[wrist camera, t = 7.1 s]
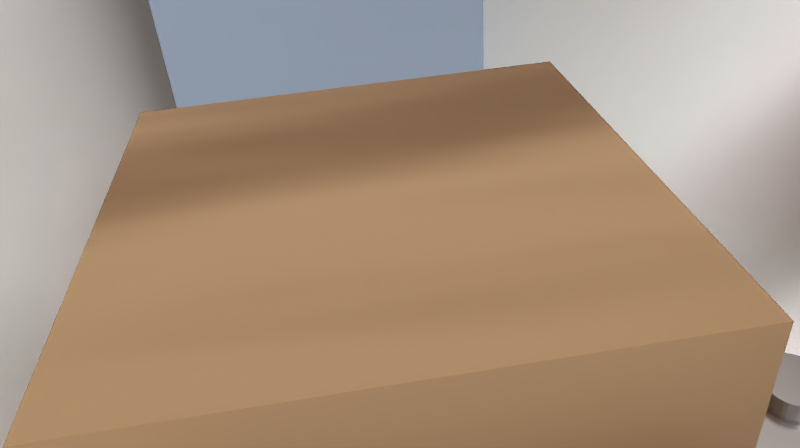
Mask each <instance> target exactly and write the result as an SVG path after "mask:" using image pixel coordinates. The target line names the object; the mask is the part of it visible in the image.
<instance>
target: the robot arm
mask: <svg viewBox="0 0 800 448" xmlns="http://www.w3.org/2000/svg"><path fill="white" fill-rule="evenodd" d="M756 448H800V356H797V355H793V354H788V353H784V355H783V358H782V362H781V365H780V368H779V372H778V375H777V378H776V382H775V385H774V388H773V392H772V395H771V398H770V402H769V405H768V409H767V412H766V415H765V419H764V422H763V425H762V429H761V432H760V435H759V439H758V442H757V445H756Z"/></svg>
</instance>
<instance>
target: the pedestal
mask: <svg viewBox="0 0 800 448" xmlns="http://www.w3.org/2000/svg"><path fill="white" fill-rule="evenodd" d="M148 1H149V5H150V9H151V13H152V16H153V20H154V24H155V28H156V32H157V35H158V39H159V43H160V47H161V50H162V54H163V58H164V62H165V66H166V69H167V73H168V77H169V81H170V84H171V88H172V92H173V96H174V99H175V103H176V107H177V108H180V107H188V106H196V105H204V104H212V103H220V102H229V101H237V100H245V99H253V98H261V97H269V96H277V95H285V94H293V93H301V92H309V91H317V90H325V89H333V88H341V87H349V86H357V85H365V84H373V83H382V82H390V81H398V80H406V79H414V78H422V77H430V76H438V75H446V74H454V73H462V72H470V71H478V70H483V0H148Z"/></svg>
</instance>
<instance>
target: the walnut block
mask: <svg viewBox="0 0 800 448" xmlns="http://www.w3.org/2000/svg"><path fill="white" fill-rule="evenodd" d="M793 322H794V321H793V320H792V319H791V318H790V317H789V316H788V315H787V314H786V313H785V312H784V310H783V309H782V308H781V307H780V306H779V305H778V304H777V303H776V302H775V301H774V300H773V299H772V298H771V297H770V296H769V294H768V293H767V292H766V291H765V290H764V289H763V288H762V287H761V286H760V285H759V284H758V283H757V282H756V281H755V280H754V279H753V277H752V276H751V275H750V274H749V273H748V272H747V271H746V270H745V269H744V268H743V267H742V266H741V265H740V264H739V263H738V261H737V260H736V259H735V258H734V257H733V256H732V255H731V254H730V253H729V252H728V251H727V250H726V249H725V248H724V247H723V246H722V244H721V243H720V242H719V241H718V240H717V239H716V238H715V237H714V236H713V235H712V234H711V233H710V232H709V231H708V230H707V229H706V227H705V226H704V225H703V224H702V223H701V222H700V221H699V220H698V219H697V218H696V217H695V216H694V215H693V214H692V213H691V211H690V210H689V209H688V208H687V207H686V206H685V205H684V204H683V203H682V202H681V201H680V200H679V199H678V198H677V197H676V196H675V194H674V193H673V192H672V191H671V190H670V189H669V188H668V187H667V186H666V185H665V184H664V183H663V182H662V181H661V180H660V178H659V177H658V176H657V175H656V174H655V173H654V172H653V171H652V170H651V169H650V168H649V167H648V166H647V165H646V164H645V163H644V161H643V160H642V159H641V158H640V157H639V156H638V155H637V154H636V153H635V152H634V151H633V150H632V149H631V148H630V147H629V146H628V144H627V143H626V142H625V141H624V140H623V139H622V138H621V137H620V136H619V135H618V134H617V133H616V132H615V131H614V130H613V128H612V127H611V126H610V125H609V124H608V123H607V122H606V121H605V120H604V119H603V118H602V117H601V116H600V115H599V114H598V113H597V111H596V110H595V109H594V108H593V107H592V106H591V105H590V104H589V103H588V102H587V101H586V100H585V99H584V98H583V97H582V95H581V94H580V93H579V92H578V91H577V90H576V89H575V88H574V87H573V86H572V85H571V84H570V83H569V82H568V81H567V80H566V78H565V77H564V76H563V75H562V74H561V73H560V72H559V71H558V70H557V69H556V68H555V67H554V66H553V65H552V64H551V63H550V62H543V63H535V64H526V65H518V66H510V67H502V68H494V69H486V70H478V71H470V72H462V73H454V74H446V75H438V76H430V77H422V78H414V79H406V80H398V81H390V82H382V83H373V84H365V85H357V86H349V87H341V88H333V89H325V90H317V91H309V92H301V93H293V94H285V95H277V96H269V97H261V98H253V99H245V100H237V101H229V102H220V103H212V104H204V105H196V106H188V107H180V108H172V109H164V110H156V111H148V112H141V113H140V116H139V118H138V120H137V123H136V125H135V128H134V130H133V133H132V135H131V137H130V140H129V142H128V145H127V147H126V149H125V152H124V154H123V157H122V159H121V162H120V164H119V166H118V169H117V171H116V174H115V176H114V179H113V181H112V183H111V186H110V188H109V191H108V193H107V196H106V198H105V200H104V203H103V205H102V208H101V210H100V212H99V215H98V217H97V220H96V222H95V225H94V227H93V229H92V232H91V234H90V237H89V239H88V242H87V244H86V246H85V249H84V251H83V254H82V256H81V259H80V261H79V263H78V266H77V268H76V271H75V273H74V275H73V278H72V280H71V283H70V285H69V288H68V290H67V292H66V295H65V297H64V300H63V302H62V305H61V307H60V309H59V312H58V314H57V317H56V319H55V322H54V324H53V326H52V329H51V331H50V334H49V336H48V339H47V341H46V343H45V346H44V348H43V351H42V353H41V355H40V358H39V360H38V363H37V365H36V368H35V370H34V372H33V375H32V377H31V380H30V382H29V385H28V387H27V389H26V392H25V394H24V397H23V399H22V402H21V404H20V406H19V409H18V411H17V414H16V416H15V418H14V421H13V423H12V426H11V428H10V431H9V433H8V435H7V438H6V440H5V443H4V445H3V448H756V445H757V442H758V439H759V435H760V432H761V429H762V425H763V422H764V419H765V415H766V412H767V409H768V405H769V402H770V398H771V395H772V392H773V388H774V385H775V382H776V378H777V375H778V372H779V368H780V365H781V362H782V358H783V355H784V352H785V348H786V345H787V342H788V338H789V335H790V332H791V328H792V325H793Z"/></svg>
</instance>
